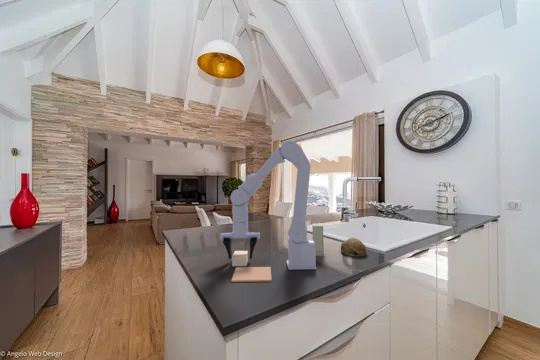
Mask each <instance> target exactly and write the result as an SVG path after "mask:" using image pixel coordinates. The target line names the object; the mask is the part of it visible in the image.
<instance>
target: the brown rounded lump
mask: <svg viewBox="0 0 540 360" xmlns="http://www.w3.org/2000/svg"><path fill="white" fill-rule="evenodd" d="M340 252H341V253H342V254H344V255H347V256H349V257H365V256H366V254H367V246H366V245H365V244H364V243H363V242H362V241H361V240H360V239H358V238H356V237H351V238H350V237H349V238H347V239H346V240H344V241H343V242H342V243H341V244H340Z"/></svg>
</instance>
